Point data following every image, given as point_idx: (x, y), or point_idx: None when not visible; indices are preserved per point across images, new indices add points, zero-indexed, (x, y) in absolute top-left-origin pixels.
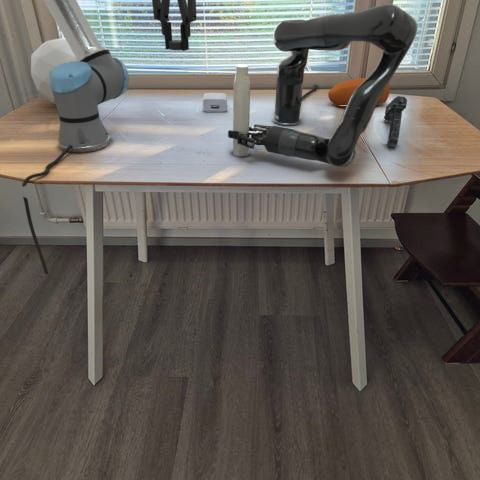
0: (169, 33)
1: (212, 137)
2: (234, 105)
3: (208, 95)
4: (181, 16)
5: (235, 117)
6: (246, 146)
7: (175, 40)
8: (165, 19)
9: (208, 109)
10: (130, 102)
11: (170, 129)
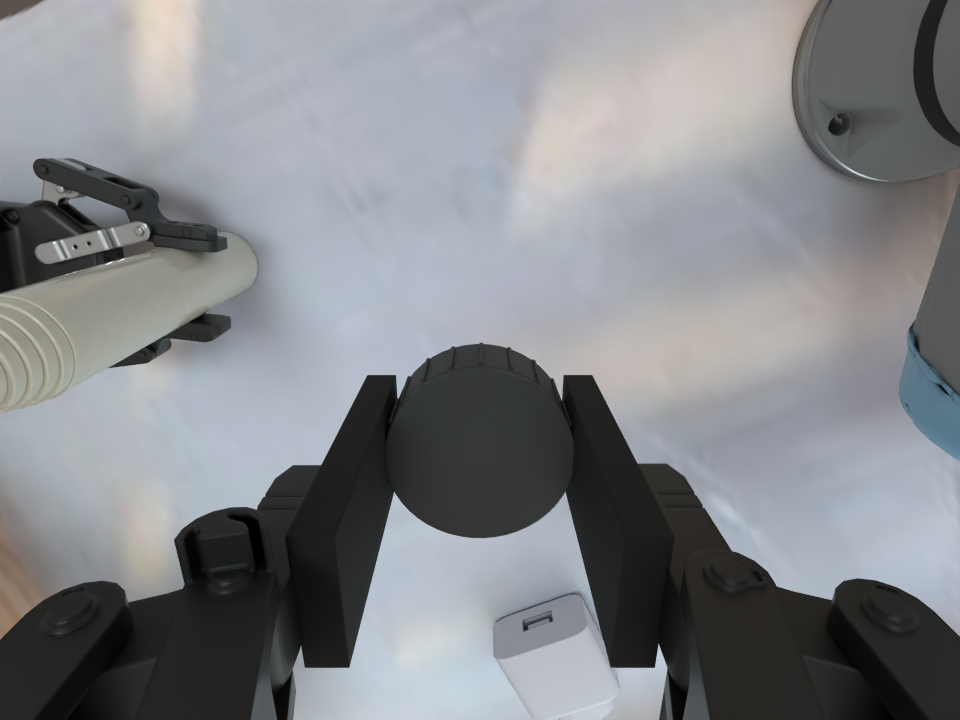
0: (585, 509)
1: (413, 368)
2: (114, 278)
3: (588, 676)
4: (253, 647)
5: (143, 262)
6: (97, 168)
7: (518, 494)
8: (681, 638)
9: (561, 604)
10: (924, 580)
11: (615, 377)
